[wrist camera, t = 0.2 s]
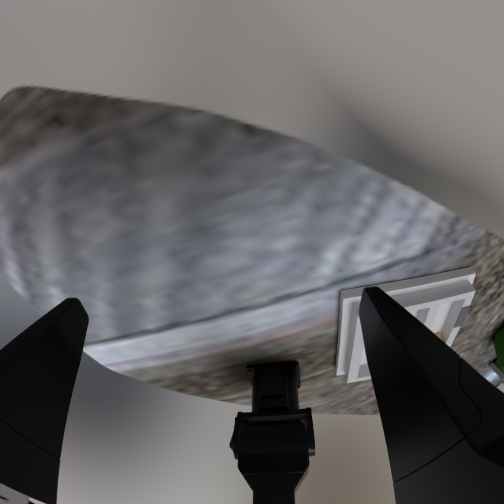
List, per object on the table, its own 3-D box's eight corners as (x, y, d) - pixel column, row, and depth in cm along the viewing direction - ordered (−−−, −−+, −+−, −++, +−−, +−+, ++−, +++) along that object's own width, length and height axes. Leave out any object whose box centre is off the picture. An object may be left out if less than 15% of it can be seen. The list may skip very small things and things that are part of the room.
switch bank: (440, 344, 32) (447, 361, 30) (335, 368, 34) (338, 388, 31) (470, 266, 24) (484, 284, 22) (340, 290, 26) (347, 313, 24)
